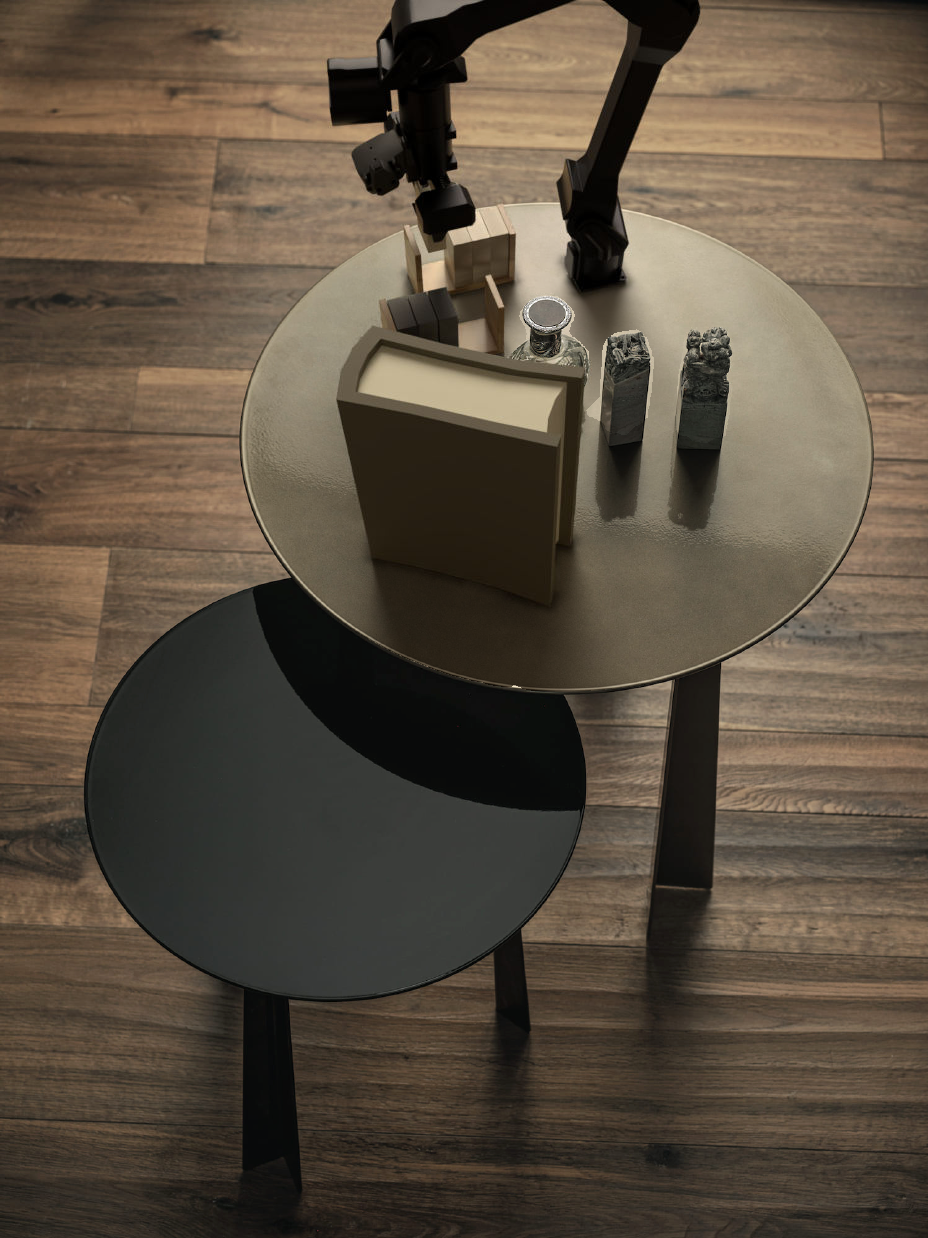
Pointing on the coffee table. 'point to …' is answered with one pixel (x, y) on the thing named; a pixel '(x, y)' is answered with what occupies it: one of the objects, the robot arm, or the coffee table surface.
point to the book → (463, 458)
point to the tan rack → (447, 319)
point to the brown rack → (467, 255)
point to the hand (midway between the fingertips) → (431, 226)
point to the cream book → (426, 238)
